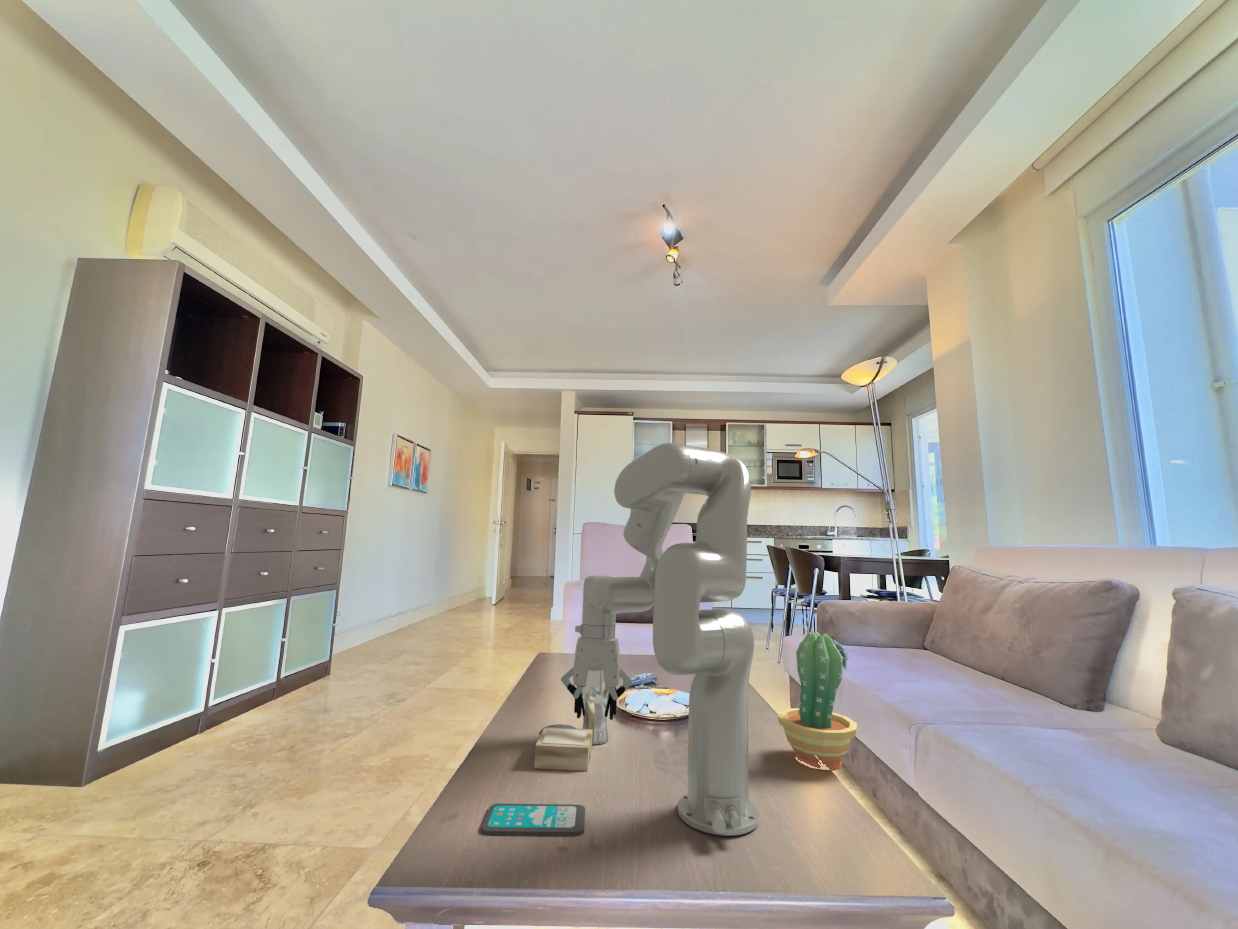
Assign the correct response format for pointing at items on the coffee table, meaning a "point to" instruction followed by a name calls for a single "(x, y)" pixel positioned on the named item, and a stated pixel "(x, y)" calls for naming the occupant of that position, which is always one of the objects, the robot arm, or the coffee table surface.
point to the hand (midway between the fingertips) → (595, 716)
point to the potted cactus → (819, 704)
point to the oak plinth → (564, 749)
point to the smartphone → (534, 820)
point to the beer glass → (596, 706)
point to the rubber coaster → (559, 726)
